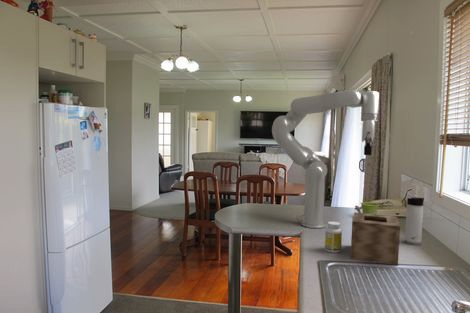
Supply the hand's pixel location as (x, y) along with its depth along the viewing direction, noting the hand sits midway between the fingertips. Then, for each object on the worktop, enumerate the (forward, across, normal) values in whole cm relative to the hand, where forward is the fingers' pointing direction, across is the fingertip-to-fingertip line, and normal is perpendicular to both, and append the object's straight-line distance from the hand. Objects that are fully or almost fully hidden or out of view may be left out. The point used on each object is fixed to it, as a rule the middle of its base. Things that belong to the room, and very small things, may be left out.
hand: (367, 154), depth 164 cm
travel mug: (+37, +10, +20) cm, 43 cm away
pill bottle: (+37, +35, -11) cm, 52 cm away
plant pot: (+37, -26, +2) cm, 45 cm away
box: (+37, +33, +4) cm, 50 cm away
